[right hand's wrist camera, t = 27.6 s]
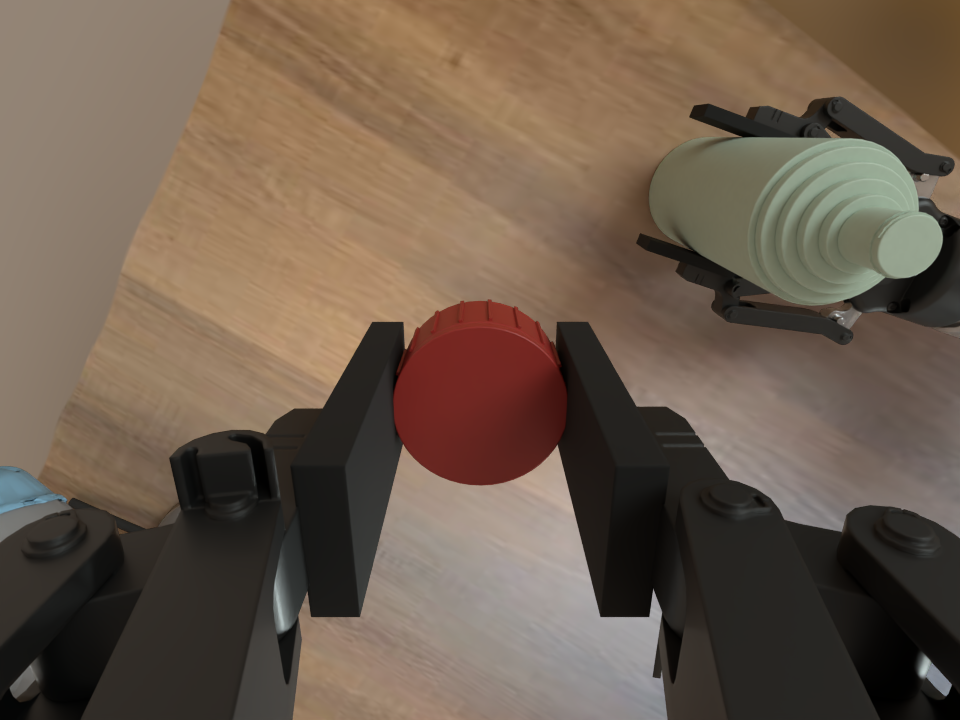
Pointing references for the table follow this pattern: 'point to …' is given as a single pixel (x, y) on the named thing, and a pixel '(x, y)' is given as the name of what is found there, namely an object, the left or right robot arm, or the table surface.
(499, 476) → the cap
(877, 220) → the bottle
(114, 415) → the table surface
